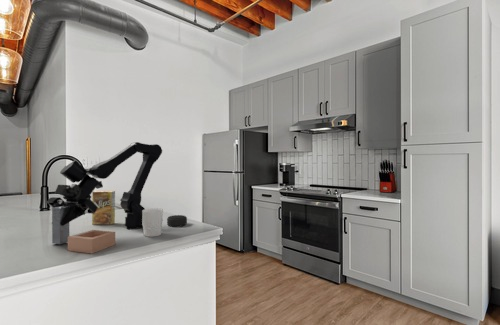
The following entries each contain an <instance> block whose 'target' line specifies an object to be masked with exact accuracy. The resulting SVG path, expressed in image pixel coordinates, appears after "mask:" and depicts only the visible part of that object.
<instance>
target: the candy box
mask: <svg viewBox="0 0 500 325" xmlns="http://www.w3.org/2000/svg"><path fill="white" fill-rule="evenodd" d="M91 195H92V196H91V200H92V201H93V202H94V204H95V205H96V206H97V210H96V212H95V213H94V214H91V219H92V220H91V225H104V226H105V225H107V226H108V225H110V226H111V225H113V224H115V223H116V221H115V220H116V219H115V218H116V211H115V210H116V207H115V206H116V190H115V191H114V190H107V191H106V190H102V191H101V190H96V191H95V190H94V191H93V192H92V193H91Z"/></svg>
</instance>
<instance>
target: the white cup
mask: <svg viewBox="0 0 500 325" xmlns="http://www.w3.org/2000/svg"><path fill="white" fill-rule="evenodd" d="M163 213H164V210H163V208H158V207H157V208H156V207H154V208H145V209H144V210H142V226H143V228H142V229H143V237H147V238H151V237H152V238H154V237H158V236H161V235H162V228H163V215H164V214H163Z"/></svg>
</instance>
